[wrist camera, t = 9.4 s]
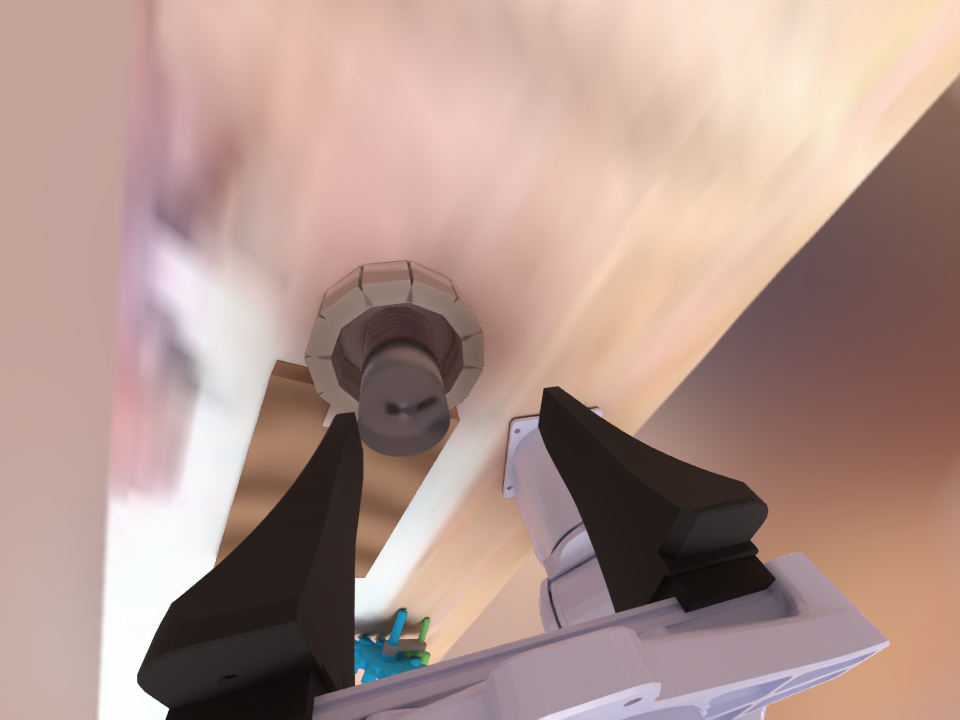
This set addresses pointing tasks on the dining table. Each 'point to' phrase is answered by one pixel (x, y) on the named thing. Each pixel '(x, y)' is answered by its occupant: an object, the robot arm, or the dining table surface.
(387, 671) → the gear
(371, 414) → the hinge pin
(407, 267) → the brown piece
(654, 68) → the dining table surface
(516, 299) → the dining table surface
